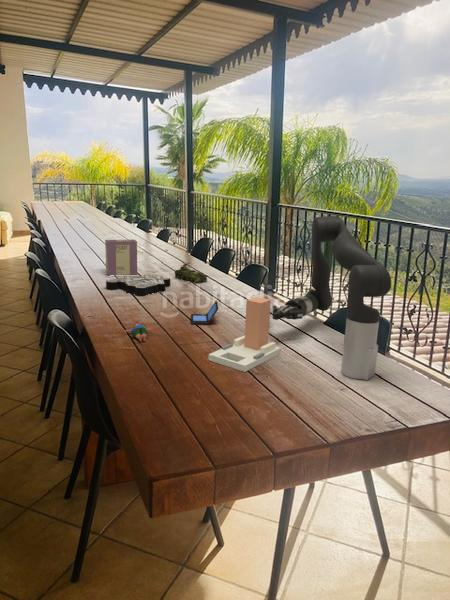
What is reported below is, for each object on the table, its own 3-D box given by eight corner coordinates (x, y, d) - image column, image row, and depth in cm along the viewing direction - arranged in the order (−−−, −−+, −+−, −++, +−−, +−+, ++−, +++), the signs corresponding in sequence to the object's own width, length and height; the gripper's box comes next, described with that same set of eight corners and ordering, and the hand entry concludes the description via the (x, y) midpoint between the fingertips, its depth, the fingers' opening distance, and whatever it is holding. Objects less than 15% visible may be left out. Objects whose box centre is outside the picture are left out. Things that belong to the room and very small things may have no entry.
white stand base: (280, 353, 154) (281, 342, 153) (244, 372, 138) (245, 359, 137) (246, 343, 162) (246, 332, 161) (208, 360, 146) (208, 348, 145)
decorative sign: (101, 280, 234) (142, 272, 259) (102, 289, 235) (142, 280, 260) (143, 289, 220) (181, 279, 244) (143, 298, 221) (181, 287, 246)
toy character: (124, 332, 157) (119, 319, 170) (124, 345, 158) (119, 331, 172) (160, 329, 161) (152, 317, 174) (160, 342, 162) (152, 329, 176)
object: (190, 316, 193) (191, 299, 192) (216, 317, 194) (217, 299, 192) (190, 325, 181) (190, 307, 179) (217, 326, 182) (218, 307, 180)
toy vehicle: (185, 276, 274) (185, 260, 272) (208, 282, 261) (209, 264, 259) (173, 278, 267) (173, 261, 265) (196, 284, 254) (197, 266, 252)
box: (108, 276, 265) (107, 241, 260) (106, 273, 273) (105, 239, 268) (137, 275, 270) (136, 241, 265) (134, 272, 279) (134, 239, 274)
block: (267, 345, 155) (270, 299, 151) (258, 350, 150) (260, 303, 146) (254, 342, 158) (256, 296, 154) (244, 346, 154) (246, 300, 150)
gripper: (284, 294, 177) (259, 302, 164) (315, 301, 169) (292, 310, 156) (282, 313, 179) (258, 323, 166) (313, 320, 171) (290, 331, 158)
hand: (274, 316), depth 161 cm, fingers closed
